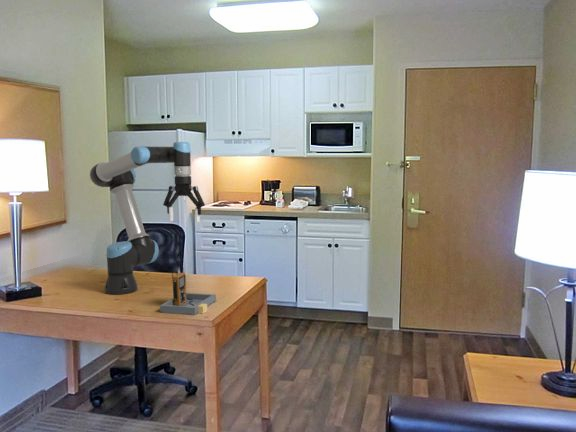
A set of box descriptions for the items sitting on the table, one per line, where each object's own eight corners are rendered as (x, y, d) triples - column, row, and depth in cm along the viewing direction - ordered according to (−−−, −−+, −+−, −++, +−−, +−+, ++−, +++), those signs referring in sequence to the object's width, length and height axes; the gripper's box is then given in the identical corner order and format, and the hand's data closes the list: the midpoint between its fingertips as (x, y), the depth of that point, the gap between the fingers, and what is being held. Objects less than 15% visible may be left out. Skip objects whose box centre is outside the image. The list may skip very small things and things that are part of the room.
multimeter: (191, 309, 214) (189, 262, 212) (169, 308, 217) (167, 261, 214) (205, 300, 229) (203, 255, 226) (184, 298, 231) (182, 255, 229)
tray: (160, 312, 213) (159, 305, 213) (183, 298, 233) (183, 292, 233) (200, 315, 208) (200, 308, 208) (221, 301, 228) (221, 294, 228)
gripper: (154, 175, 236) (156, 221, 239) (203, 176, 229) (205, 223, 231) (163, 175, 243) (164, 219, 246) (211, 175, 236) (212, 221, 238)
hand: (184, 221), depth 238 cm, fingers open, 13 cm apart
